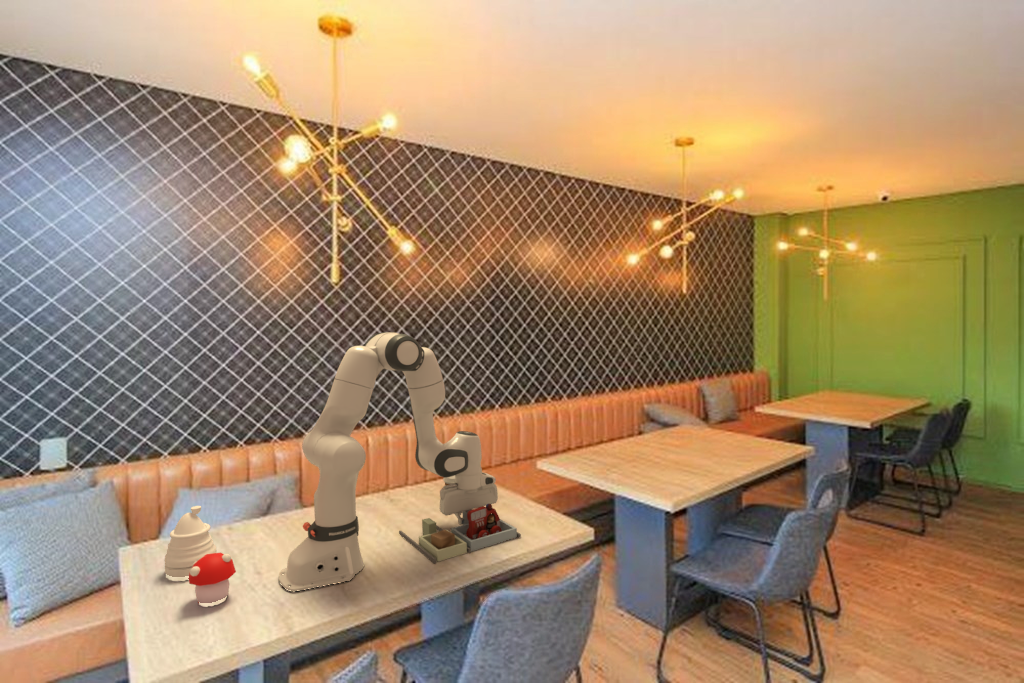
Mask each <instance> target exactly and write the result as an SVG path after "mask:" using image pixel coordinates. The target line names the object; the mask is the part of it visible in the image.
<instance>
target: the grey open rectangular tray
mask: <svg viewBox="0 0 1024 683" xmlns="http://www.w3.org/2000/svg"><path fill="white" fill-rule="evenodd" d="M471 510H473V509H471ZM468 511H470V510H467V511H463V512H461V514H462V518H463V519H464V522H465V523H464V524H462V525H458V526H455V527H451V528H450V532H451V533H453V534H455V535H456V536H457V537H459V538H460V539H462V540H463V541H464V542H466V543H467V547H469V548H470V549H471V552H475V551H477V550H480V549H484V547H485V548H487V547H490V546H494V545H497V543H498V544H501V543H504V542H507V541H506V540H508V541H510V540H509V539H511V540H513V539H512V538H514V539H516V538H515V537H517V532H518V529H517V527H515V526H513V525H512V524H510V523H508V522H506V521H504V520H503V519H500V527H501V529H502V532H498V533H495V534H491V535H488V536H485V537H481V538H478V539H469V538H468V537H467V535H466V532H467V529H468V528H469V521H468V519H467V513H468ZM517 538H518V537H517ZM503 541H504V542H503ZM500 542H501V543H500Z"/></svg>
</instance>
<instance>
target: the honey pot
mask: <svg viewBox="0 0 1024 683" xmlns="http://www.w3.org/2000/svg"><path fill="white" fill-rule="evenodd" d="M201 510H202V506H201V505H194V506H191V507H190V512H186V513H184V514H183V515H182V516H181V517H180V519H179V520H178V521H177V523H176V525H175V527H174V529H173V530H171V531H170V532H169V537H170V541H169V543H168V545H167V549H166V553H165V556H164V574H165V573H166V574H167V575H169V576H172V577H185V576H189V573H190V570H191V568H192V567H193V563H194V562H196V561H198V560H200V559H201V558H202V557H203V556H205V555H206V554H213V553H218V552H217V546H216V544H215V543H214V540H213V538H212V537H213V536H212V535H211V534H210V532H209V531H210V530H211V525H210V524H209V523H206V522H203V520H202V519H201V518H200V517H199V515H198V514H200V512H201Z"/></svg>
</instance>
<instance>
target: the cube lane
mask: <svg viewBox="0 0 1024 683" xmlns="http://www.w3.org/2000/svg"><path fill="white" fill-rule="evenodd" d="M421 525H422V526H421V527H422V533H421V534H422V535H421V536H418V545H420V546H421V547H422V548H423V549H424V550H426V551H427V552H428V553H429V554H431V555H432V556H433V557H434V558H436V563H438V562H441V561H444V560H447V559H451V558H454V557H457V556H461V555H465V554H467V553H468V552H467V543H466V542H464V541H463V540H462V539H460V538H459V537H457V536H456V535H455V545H453V546H450V547H446V548H443V549H440V550H438V549H437V548H436V547H434V546H433V545H432V544H431V534H434V533H437V532H438V531H437V528H436V525H437V522H436V521H435V520H433V519H432V518H430V517H426V518H424V519H423V518H422V520H421ZM445 530H446V531H448V532H451V530H448V529H445Z"/></svg>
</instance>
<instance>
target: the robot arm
mask: <svg viewBox="0 0 1024 683" xmlns="http://www.w3.org/2000/svg"><path fill="white" fill-rule="evenodd" d="M440 367H441V366H440V365H439V363H438V360H437V358H436V355H435V353H434V351H433V350H432V349H431V348H428V347H425V346H421V345H420V343H419V342H418V340H416V338H415V337H413V336H411V335H409V334H405V333H399V332H393V331H390V332H389V331H388V332H377V333H375V334H373V335H372V336H370V337H369V338H368V339H367V340H366V341H365V343H364V344H362V345H354V346H351V347H350V348H348V349H347V351H346V352H345V354H344V356H343V358H342V360H341V362H340V364H339V366H338V368H337V371H336V373H335V376H334V380H333V382H332V385H331V389H330V391H329V395H328V398H327V400H326V403H325V406H324V408H323V410H322V412H321V414H320V415H319V418H318V419H317V421H316V423H315V424H314V426H313V428H312V429H311V430H310V431H309V432H308V433H307V434H306V435H305V436H304V438H303V440H302V445H301V446H302V447H301V448H302V450H301V451H302V453H303V454H304V456H305V458H306V460H307V461H308V462H309V463H310V464H311V465H313V466H315V467H317V468H318V471H319V480H318V485H317V488H316V490H315V492H314V494H313V508H314V521H313V522H312V523H310V522H309V521H305V522H304V523H303V525H302V528H303V529H304V531H305V532H307V537H306V538H305V539H304V540H303V541H302V542H301V543H300V544H299V545H297V546H296V547H295V548H294V549H293V550H292V551H291V552H290V554H289V555H288V558H287V563H286V564H287V565H286V567H285V568H283V569H281V570H280V572H279V573H278V582H279V581H280V583H281V584H282V586H283V587H284V588H286V589H288V590H291V591H297V590H304V589H308V588H313V587H317V586H323V585H328V584H333V583H338V582H344V581H349V582H350V580H351V579H352V578H353V579H354V577H355V576H356V575H357V574H358V573H359V571H360V572H361V571H362V570H363V568H364V567H365V562H364V559H363V556H362V553H361V548H360V544H359V529H360V527H359V519H358V515H357V506H356V504H357V502H356V492H357V489H356V488H357V483H358V478H359V473H360V472H361V470H362V469H363V467H364V465H365V463H366V458H367V456H366V454H367V453H366V450H365V448H364V447H363V446H362V443H360V442H359V441H358V440H357V439H356V438H354V437H353V436H351V434H352V433H353V431H354V429H355V428H356V426H357V424H358V423H359V422H360V421H361V420H363V419H364V417H365V415H366V414H367V411H368V407H369V404H370V401H371V398H372V394H373V391H374V388H375V384H376V379H377V378H378V376H379V374H380V373H381V372H382V371H383V370H387V371H399V372H402V373H403V374H404V378H405V381H406V386H407V390H408V394H409V398H410V403H411V411H412V412H411V413H412V418H413V419H412V420H413V426H414V432H415V437H416V447H415V454H414V455H415V462H416V464H417V465H418V466H419V467H420V468H421V469H423V470H425V471H427V472H429V473H432V474H434V475H437V476H439V477H441V478H444V477H445V478H447V477H451V476H454V475H455V483H454V484H451V485H446V486H445V485H444V486H443V487H442V488H441V489H440V490H439V497H440V498H439V511H440V513H441V514H442V515H444V516H447V517H448V516H450V515H455V517H456V518H457V524H458V526H461V525H463V524H464V523H465V522H464V519H463V517H461V515H462V512H463V511H467V510H471V509H472V510H473V509H476V508H479V507H482V506H484V507H486V505H487V504H491V505H495V504H497V502H498V499H499V495H498V487H497V485H496V477H495V476H493V475H492V474H489V473H487V472H483V468H482V466H481V465H482V464H481V462H482V444H481V439H480V436H479V435H478V434H477V433H474V432H472V431H467V430H459V431H456V433H455V435H454V436H452V438H451V439H449V440H448V441H446V442H444V443H442V442H441V441H440V439H438V437H437V434H436V429H435V423H434V417H433V416H434V412H435V410H437V409H439V408H440V406H442V404H443V403H444V401H445V399H446V389H445V388H446V386H445V382H444V378H443V374H442V370H441V368H440ZM282 574H284V575H282ZM355 574H356V575H355ZM353 579H352V580H353ZM352 580H351V581H352ZM280 583H279V584H280ZM344 583H345V582H344ZM282 586H281V587H282ZM289 586H290V587H289Z"/></svg>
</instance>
